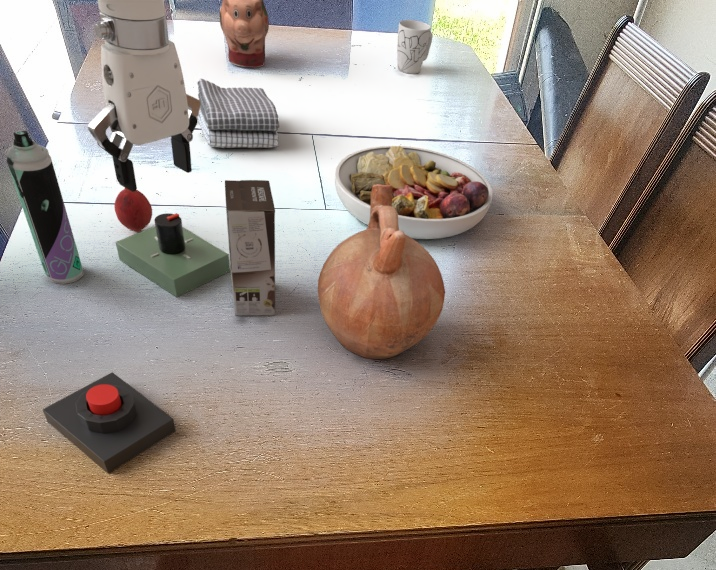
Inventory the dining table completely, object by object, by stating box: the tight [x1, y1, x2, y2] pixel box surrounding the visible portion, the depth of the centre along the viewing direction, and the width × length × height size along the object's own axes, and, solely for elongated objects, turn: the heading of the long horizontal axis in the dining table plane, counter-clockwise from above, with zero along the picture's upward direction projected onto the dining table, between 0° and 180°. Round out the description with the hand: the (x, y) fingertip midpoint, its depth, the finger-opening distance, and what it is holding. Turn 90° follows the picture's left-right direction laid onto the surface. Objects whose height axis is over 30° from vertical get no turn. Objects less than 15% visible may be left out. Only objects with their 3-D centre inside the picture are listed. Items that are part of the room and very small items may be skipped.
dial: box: [154, 212, 185, 254], centre depth 93 cm, size 4×4×5 cm
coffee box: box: [224, 179, 276, 317], centre depth 88 cm, size 9×6×16 cm
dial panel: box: [115, 225, 231, 298], centre depth 96 cm, size 14×11×3 cm
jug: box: [317, 184, 446, 360], centre depth 84 cm, size 18×18×20 cm
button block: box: [42, 371, 177, 475], centre depth 74 cm, size 12×10×4 cm
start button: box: [86, 384, 121, 416], centre depth 72 cm, size 4×4×2 cm
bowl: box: [334, 145, 493, 240], centre depth 115 cm, size 30×30×8 cm
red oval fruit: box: [113, 187, 153, 233], centre depth 100 cm, size 6×6×8 cm
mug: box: [396, 19, 433, 75], centre depth 163 cm, size 11×8×10 cm
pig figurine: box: [219, 0, 270, 68], centre depth 152 cm, size 20×12×14 cm, turn 10°
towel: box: [196, 78, 280, 149], centre depth 127 cm, size 15×18×8 cm
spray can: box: [4, 130, 84, 285], centre depth 86 cm, size 6×6×20 cm
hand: (156, 178), depth 86 cm, fingers open, 9 cm apart
